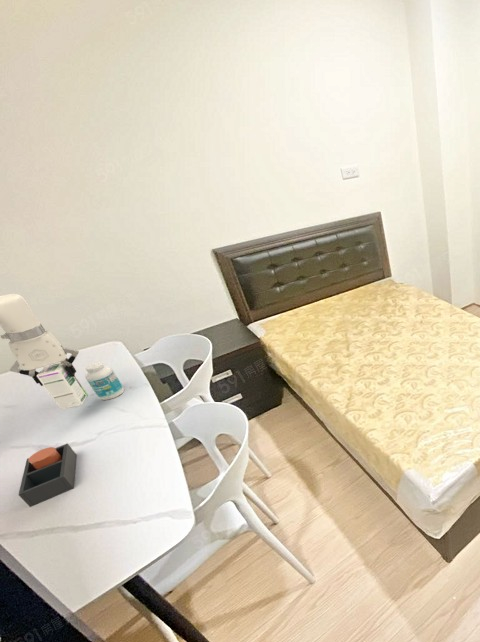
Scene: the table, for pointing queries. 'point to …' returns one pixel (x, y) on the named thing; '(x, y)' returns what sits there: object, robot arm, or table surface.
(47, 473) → the holder
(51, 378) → the syrup box
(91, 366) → the pill bottle
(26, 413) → the table surface
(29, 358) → the robot arm
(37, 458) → the orange faceted barrel
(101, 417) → the table surface
